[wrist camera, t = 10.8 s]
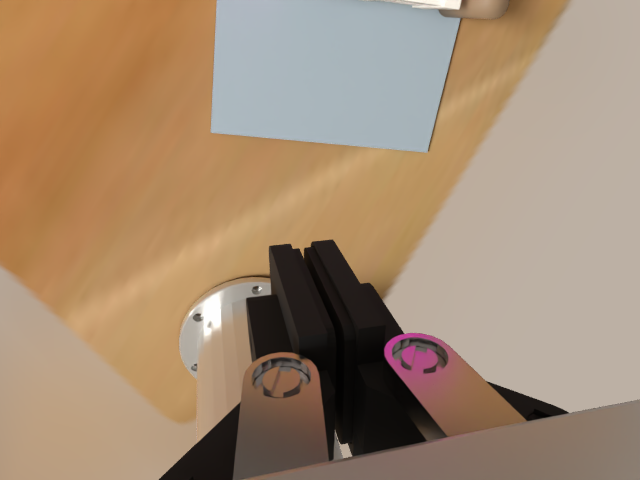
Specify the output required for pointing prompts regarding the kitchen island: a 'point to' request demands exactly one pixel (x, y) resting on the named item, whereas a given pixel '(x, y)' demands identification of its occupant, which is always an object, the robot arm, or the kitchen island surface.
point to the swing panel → (428, 3)
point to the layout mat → (330, 71)
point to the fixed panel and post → (478, 9)
